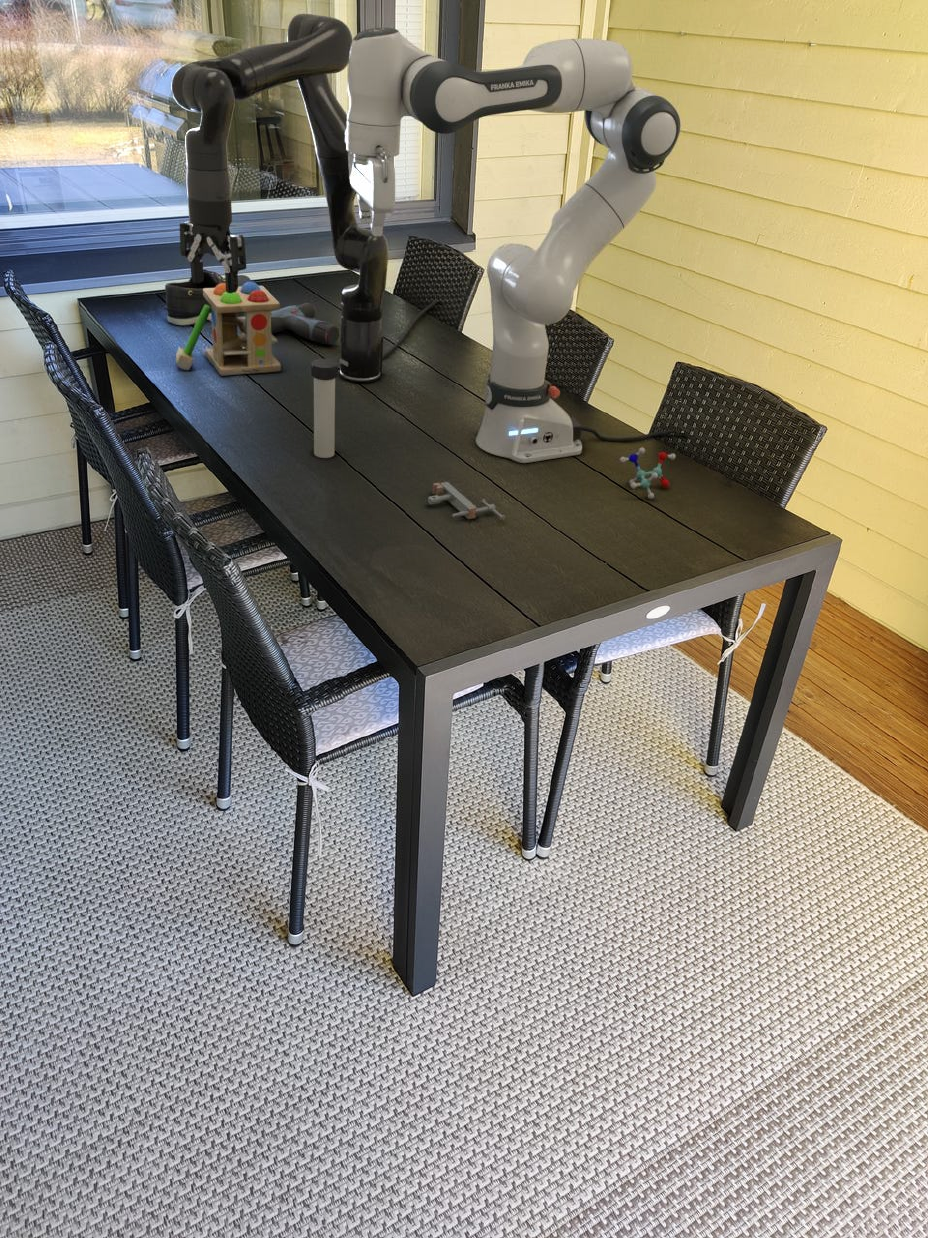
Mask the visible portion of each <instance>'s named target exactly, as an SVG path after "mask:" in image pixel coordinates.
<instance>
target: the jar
mask: <svg viewBox="0 0 928 1238" xmlns="http://www.w3.org/2000/svg"><path fill="white" fill-rule="evenodd" d="M335 419H336V378H335V379H331V380H320V379H316V378H314V377H313V454H314V456H315V457H317V458H322V459H328V458H333V457H334V456H335V443H336V442H335V441H336V439H335V435H336V433H335V432H336V429H335V428H336V425H335V424H336V422H335V421H336V420H335Z"/></svg>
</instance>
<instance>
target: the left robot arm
mask: <svg viewBox="0 0 928 1238" xmlns="http://www.w3.org/2000/svg"><path fill="white" fill-rule="evenodd" d="M353 39H354V38H353V36H352V33H351V30H350V28H349V27H348V26H347V24H346V23H345V22H344V21H342V20H340V19H338V18H336V17H332V16H324V15H319V14H312V13H299V14H296V15H294V16H293V17H292V18H291V20H290V21H289V24H288V28H287V34H286V41H284V42H276V43H266V44H260V45H254V46H251V47H248V48H244V49H241V50H239V51H236V52H232V53H231V54H230V53H229V55H226V56H223V57H218V58H217V57H215V58H208V59H202V60H196V61H191V62H188V63H186V64H183V65H182V66H180V67H179V68H178V69H177V70H176V71H175V73H174V74H173V76H172V79H171V85H170V88H171V93H172V96H173V99H174V100H175V102H176V103H177V105H179V106H180V107H181V108H183V110H187V111H189V112H192V113H197V114H201V118H200V124H199V127H195V128H191V129H189V130H188V131H187V132H186V134H185V137H184V138H185V140H184V142H185V144H184V146H185V158H186V193H187V194H186V195H187V208H188V209H187V210H188V220H189V221H184V222H180V223H179V246H180V248H179V249H180V255H181V256H182V257H185V258H187V260H188V262H189V265H190V275H191V276H190V278H191V277H192V280H193V282H194V283H200V282H203V281H204V274H203V270H204V261H203V260H202V259H203V258H204V255H205V254H209V255H210V256H212V257H216V260H217V261H218V262H219V263H220V264H221V265H222V267H223V269H224V271H225V272H224V278H225V283H226V292H227V293H234V292H236V291H237V289H238V275H239V274H238V273H239V272H241V271H244V270H246V269H247V256H246V246H245V245H246V243H245V237H244V236H243V234H238V235H234V234H232V233H231V231H230V226H231V225H232V222H233V210H232V190H231V189H232V188H231V178H230V172H229V159H228V139H229V135H230V130H231V125H232V120H233V114H234V110H235V102H236V101H243V100H246V99H249V98H252V97H254V96H256V95H258V94H261V93H264V92H265V91H269V90H271V89H273V88H276V87H279V86H282V85H284V84H288V83H291V82H294V81H297V85H298V87H299V90H300V93H301V96H302V100H303V102H304V106H305V107H304V108H305V111H306V116H307V119H308V123H309V127H310V130H311V135H312V141H313V145H314V150H315V155H316V159H317V164H318V168H319V172H320V175H321V176H320V177H321V179H322V185H323V189H324V194H325V195H324V196H325V199H326V204H327V209H328V217H329V223H330V233H331V234H330V235H331V241H332V248H333V253H334V257H335V259H336V261H337V263H338V265H340V266H341V268H344V269H346V270H349V271H352V272H356V273H359V277H358V282H357V284H351V285H348V286H345V287H343V289H342V290H341V307H340V308H341V310H340V311H341V312H340V314H341V315H340V322H341V323H340V358H339V363H340V369H339V376H340V377H341V378H342V380H345V381H348V382H352V383H359V384H360V383H361V384H364V383H365V384H366V383H367V384H369V383H373V382H376V381H378V380H380V378H381V375H382V374H383V360H384V359H385V358H386V357H387V356H389V355H390V354H392V353H393V352H394V351H395V350H396V349H397V348H399V346H401V345H402V343H403V342H404V340H405V339H406V338H407V337H408V335H409V334H410V332H411V330H412V329H413V327H414V326H415V324H416V323H417V322H418V320H419V319H420V318H421V317H422V316H423V315H424V314H425V313H426V312H428V311H430V309H431V308H434V306H435V305H437V304H439V305H442V304H443V303H442V300H440V301H439V302H438V301H437V299H435V300H433V302H432V303H430V304H429V305H427V306H426V307H425V308H424V309H422V310H421V311H420V312H419V313H418V314H417V315H416V316H415V318H414V319H413V320H412V321H411V323H410V324H409V326H408V327H407V329H406V330H405V332H404V333H403V335H402V336H401V337H400V339H398V341H397V342H396V343H395V344H394V345H393V346H392V347H391V348H390V349H388V350H387V351H386V352H384V335H383V334H382V323H383V299H384V295H385V292H386V286H387V275H388V265H389V243H388V240H387V238H386V236H385V235H384V233H383V234H382V236H373V235H372V233H371V229H369V228H365V227H361V226H359V224H358V221H357V217H356V211H355V198H356V196H357V193H356V192H355V191H354V189H353V188H352V187H351V184H350V178H349V161H348V151H347V150H346V143H345V131H346V129H347V114H348V113H347V112H346V111H345V109H344V108H343V106H342V105H341V103H340V102H339V100H338V99H337V97H336V95H335V93H334V91H333V89H332V86H331V85H330V81H329V76H328V75H330V74H338V73H340V72H343V70H345V69H346V68H347V67H348V64H349V55H350V48H351V44H352V41H353ZM225 253H226V254H225Z"/></svg>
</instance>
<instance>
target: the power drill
mask: <svg viewBox="0 0 928 1238" xmlns="http://www.w3.org/2000/svg"><path fill="white" fill-rule="evenodd" d="M315 315H316V308H315V306H314V305H313V304H312V303H311V302H305V303H300V304H295V305H294V304H293V305H289V306H285V307H283V308H280V310H271V334H272V335H273V334H275V333H276V334H277V333H279V332H282V331H286V330H290V331H292V332H293V333H295V334H296V335H298V336H300V337H302V338H305V339H307V340H309V341H313V342H316V343H319V344H323V345H327V346H333V345H335V344H336V343H337V342H338V340H339V337H340V330H339V328H338V326H336V325H334V324H333V323H332V324H331V323H329V322H328V321H323V320H321V319H317V318H314V317H315Z"/></svg>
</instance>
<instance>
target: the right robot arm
mask: <svg viewBox="0 0 928 1238" xmlns="http://www.w3.org/2000/svg"><path fill="white" fill-rule="evenodd" d="M352 39H353V41H352V44H351V48H350V55H349V63H348V65H347V85H346V86H347V94H348V98H349V107H348V112H347V113H346V114H347V129H346V131H345V143H346V150H347V151H348V161H349V178H350V184H351V187H352V188H353V189H354V191H355V192H356V195H357V204H358V210H359V211H358V212H359V213H358V214H359V216H358V218H359V221H360V222H361V223H366V224H369V223H370V222H371V223H370V230H371V233H372V235H373V236H382V234H383V235H384V224H385V220H386V217H387V215H386V214H392V213H394V210H395V206H396V169H395V165H394V163H393V162H392V158H393V157H397V156H399V155H400V147H401V146H400V145H401V125H402V123H401V122H402V118H403V117H412V118H413V119H415V120H416V121H419V123H421V124H422V125H423V126H425V127H426V128H427V129H428V130H430V131H432V132H434V133H437V134H442V135H448V134H453V133H457V132H458V131H460V130H462V129H464V128H465V127H467V126H468V125H470V124H471V123H473V122H474V121H477V120H479V119H482V118H484V117H488V116H495V115H500V114H508V113H515V112H522V111H531V112H538V113H544V114H565V113H569V114H570V113H575V112H576V113H577V112H584V122H585V126H586V129H587V131H588V133H589V134H590V136H591V137H592V138H593V140H594V141H595V142H597V143H598V144H599V145H602V146H604V147H605V148H607V149H608V150H607V153H606V155H605V158H604V160H603V162H602V164H601V166H600V167H599V168H598V170H597V171H596V172H595V173H594V174H593V175H592V176H590V178H588V180H586V181H585V182H584V184H582V186H580V188H578V190H577V191H576V192H575V193H574V194H572V196H571V197H569V199H568V200H567V201H566V202H565V203H564V204H563V205H562V206H561V207H560V208H559V209H558V210H557V211H556V212H555V213H554V215H553V217H552V219H551V225H550V227H549V230H548V232H547V234H546V235H545V237H544V239H543V240H542V242H541V243H540V244H539V246H538V248H537V249H534V248H532V247H531V246H529V245H527V244H523V243H522V244H521V243H513V242H512V243H511V242H508V243H504V244H502V245H500V246H499V247H497V248H496V249H495V250H494V251H493V252H492V253H491V255H490V257H489V259H488V262H487V267H486V273H487V278H488V282H489V288H490V303H491V304H490V305H491V317H492V318H491V319H492V336H493V337H492V340H493V341H492V352H491V361H490V373H489V375H488V376H487V380H486V387H485V396H484V397H485V399H484V400H485V407H484V412H483V417H482V421H481V424H480V427H479V430H478V432H477V435H476V437H475V444H476V445H477V447H478V448H480V449H481V450H483V451H485V452H487V453H489V454H491V455H494V456H497V457H501V458H502V457H503V458H507V459H510V460H512V461H515V462H516V463H520V464H526V463H528V464H529V463H533V462H534V463H535V462H541V461H546V460H552V459H553V460H554V459H559V458H566V457H573V456H578V455H581V454H582V453H583V444H582V441H581V434H582V431H583V432H588V433H591V434H593V435H594V436H595V437H596V438H597V439H598V440H601V441H604V442H612V443H625V442H635V441H636V442H637V441H642V440H645V439H649V438H653V437H659V436H664V435H665V436H667V435H670V434H676V433H675V430H673V429H667V430H662V431H653V432H650V433H647V434H643V435H638V436H632V437H607V436H603V435H601V434H600V433H599V432H598V431H597V430H596V429H593V428H591V427H589V426H588V427H587V426H582V425H581V424H580V422H579V421H578V420H577V418H575V417H574V416H569V414H568V413H567V411H565V409H563V407H561V406H560V405H559V404H558V403H557V402H556V401H555V400H553V399H557V398H559V397H560V394H561V391H560V389H559V388H557V386H555V385H552V383H551V382H549V381H548V380H546V379H545V378H546V371H547V363H548V356H549V347H550V345H549V338H548V335H547V329H546V326H548V325H549V326H550V325H553V324H556V323H558V322H560V321H561V320H563V318H565V317H566V315H568V313H569V311H570V309H571V308H572V305H573V301H574V294H575V291H576V289H577V287H578V285H579V284H580V282H581V280H582V278H583V276H584V275H585V273H586V272H587V269H589V267H590V266H591V264H592V263H593V262H594V261H595V259H596V258H597V257H598V256H599V255H600V254H601V253H602V252H603V251H604V250H605V248H606V247H607V246H608V245H609V244H610V243H612V241H613V240H614V239H615V238H616V237H617V236H618V235H619V234H620V233H621V232H622V231H623V230H624V229H625V228H626V227H628V225H629V224H630V223H631V222H632V221H633V220H634V218H636V216H637V215H638V214H639V212H640V211H641V209H643V207H644V206H645V205H646V203H647V202H648V201H649V199H650V198H651V196H652V195H653V193H654V191H655V190H656V188H657V181H658V179H657V174H656V171H657V170H659V169H660V168H662V166H663V165H664V162H665V161H666V159H667V157H669V155H670V154H671V153H672V151H673V149H674V148H675V146H676V144H677V141H678V139H679V137H680V132H681V118H680V115H679V112H678V111H677V109H676V108H675V107H674V105H673V104H672V103H671V102H670V101H669V100H668V99H666V98H664V97H663V96H660V95H657V94H655V93H654V92H653V91H650V90H649V89H646V88H644V87H638V86H636V85H634V83H633V71H634V70H633V67H634V66H633V60H632V57H631V55H630V53H629V51H628V49H627V48H626V47H625V46H624V45H623V44H622V43H619V42H617V41H612V40H607V39H599V38H567V39H565V38H564V39H557V40H551V41H549V42H545V43H541V44H538V45H535V46H533V47H532V48H531V49H530V50H529V51H528V52H527V54H526V56H525V57H524V60H523V62H522V65H519V66H515V67H508V68H507V67H505V68H499V69H490V70H481V71H479V70H478V71H477V70H472V69H470V68H468V67H466V66H464V65H462V64H459V63H456V62H454V61H448V60H444V59H442V58H440V57H437V56H434V55H432V54H430V53H428V52H427V51H424V50H422V48H419V47H418V46H416V45H415V44H413V43H412V42H411V41H409V40H408V39H407V38H406V37H405V36H404V35H403V34H401V32H400V30H399V29H396V28H393V27H375V28H368V29H364V30H362V31H360V32H358V33H356V35H355V36H354V37H353V38H352ZM678 434H680V435H681V436H682V437H684V438H688V437H689V435H688V434H687V433H686V434H684V433H678Z"/></svg>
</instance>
